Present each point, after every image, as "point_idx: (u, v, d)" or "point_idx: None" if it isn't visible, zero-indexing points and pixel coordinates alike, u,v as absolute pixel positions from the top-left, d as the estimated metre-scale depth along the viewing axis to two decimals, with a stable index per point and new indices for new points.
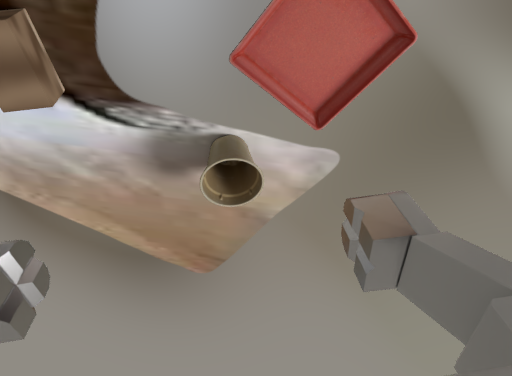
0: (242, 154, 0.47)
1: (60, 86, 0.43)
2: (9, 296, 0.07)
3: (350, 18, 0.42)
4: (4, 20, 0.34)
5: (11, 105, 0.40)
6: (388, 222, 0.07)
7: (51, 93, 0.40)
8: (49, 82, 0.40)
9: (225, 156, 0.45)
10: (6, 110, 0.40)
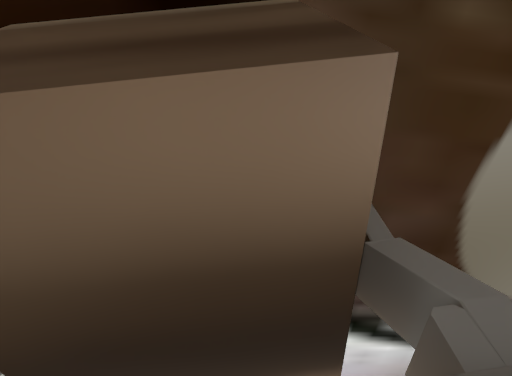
0: None
1: None
2: None
3: None
4: (373, 60, 0.03)
5: None
6: None
7: None
8: None
9: None
10: None
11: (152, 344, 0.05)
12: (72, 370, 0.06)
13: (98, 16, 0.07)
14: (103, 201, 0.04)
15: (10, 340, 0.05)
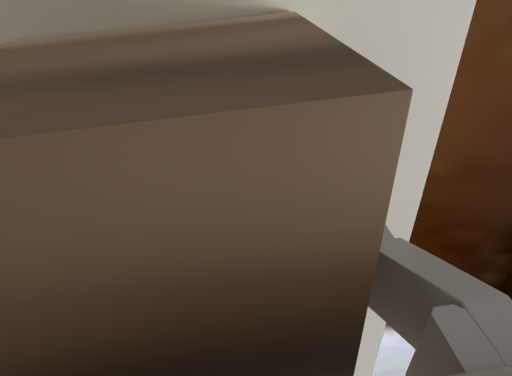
0: None
1: None
2: None
3: None
4: (386, 97, 0.03)
5: None
6: None
7: None
8: None
9: None
10: None
11: None
12: None
13: (93, 33, 0.07)
14: (96, 245, 0.03)
15: None
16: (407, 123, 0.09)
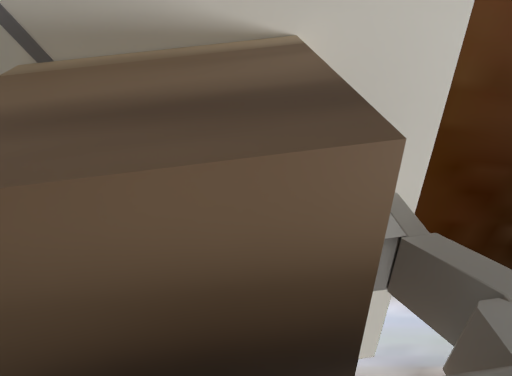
0: None
1: None
2: None
3: None
4: (381, 144, 0.03)
5: None
6: None
7: None
8: None
9: None
10: None
11: None
12: None
13: (103, 56, 0.07)
14: (113, 273, 0.04)
15: None
16: None
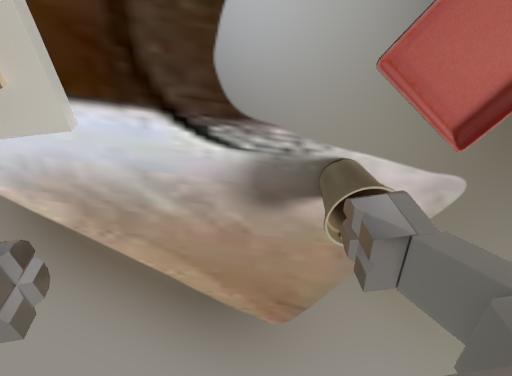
0: (376, 181, 0.38)
1: None
2: (9, 296, 0.07)
3: None
4: None
5: None
6: (388, 222, 0.07)
7: None
8: None
9: (361, 184, 0.36)
10: None
11: None
12: None
13: None
14: None
15: None
16: None
